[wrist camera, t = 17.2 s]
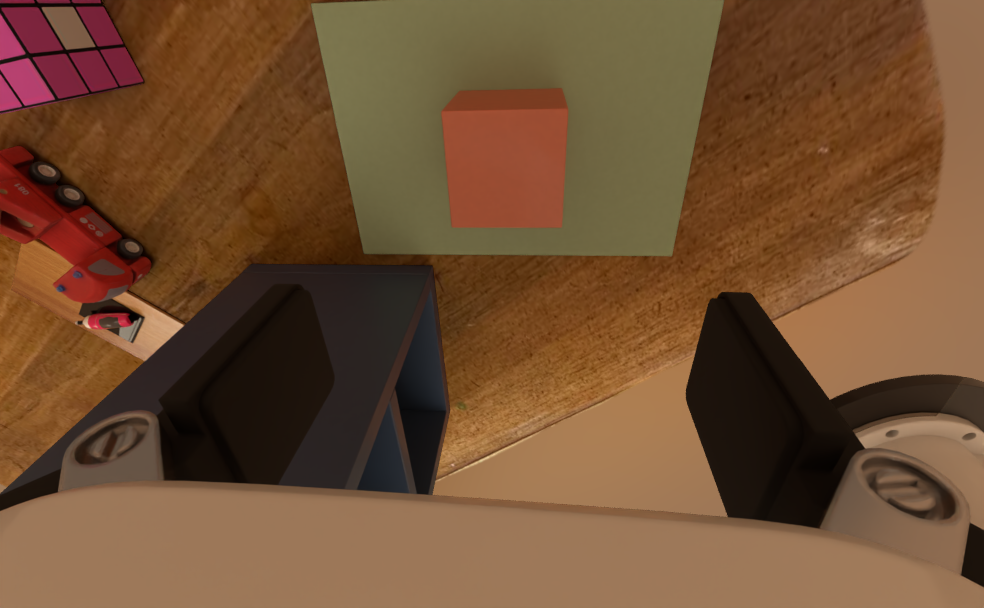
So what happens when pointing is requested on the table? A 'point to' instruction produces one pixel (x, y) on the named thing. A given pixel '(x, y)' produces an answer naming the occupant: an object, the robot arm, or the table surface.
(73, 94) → the puzzle toy
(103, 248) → the toy fire truck
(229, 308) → the shelf
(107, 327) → the board
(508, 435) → the table surface
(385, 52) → the play mat
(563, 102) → the toy block
